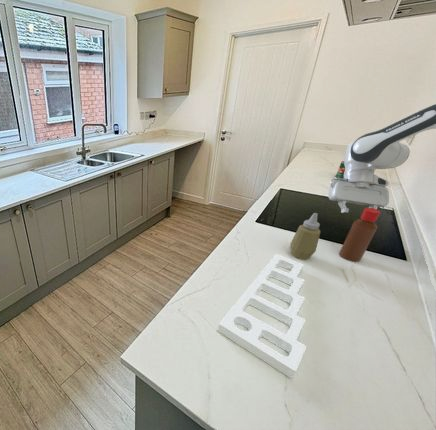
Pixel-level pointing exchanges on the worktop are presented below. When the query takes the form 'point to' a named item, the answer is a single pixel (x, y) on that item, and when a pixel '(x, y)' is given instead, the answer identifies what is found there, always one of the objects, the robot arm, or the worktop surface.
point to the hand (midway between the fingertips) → (357, 214)
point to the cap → (370, 214)
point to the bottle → (358, 240)
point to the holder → (262, 329)
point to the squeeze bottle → (306, 239)
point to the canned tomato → (341, 171)
